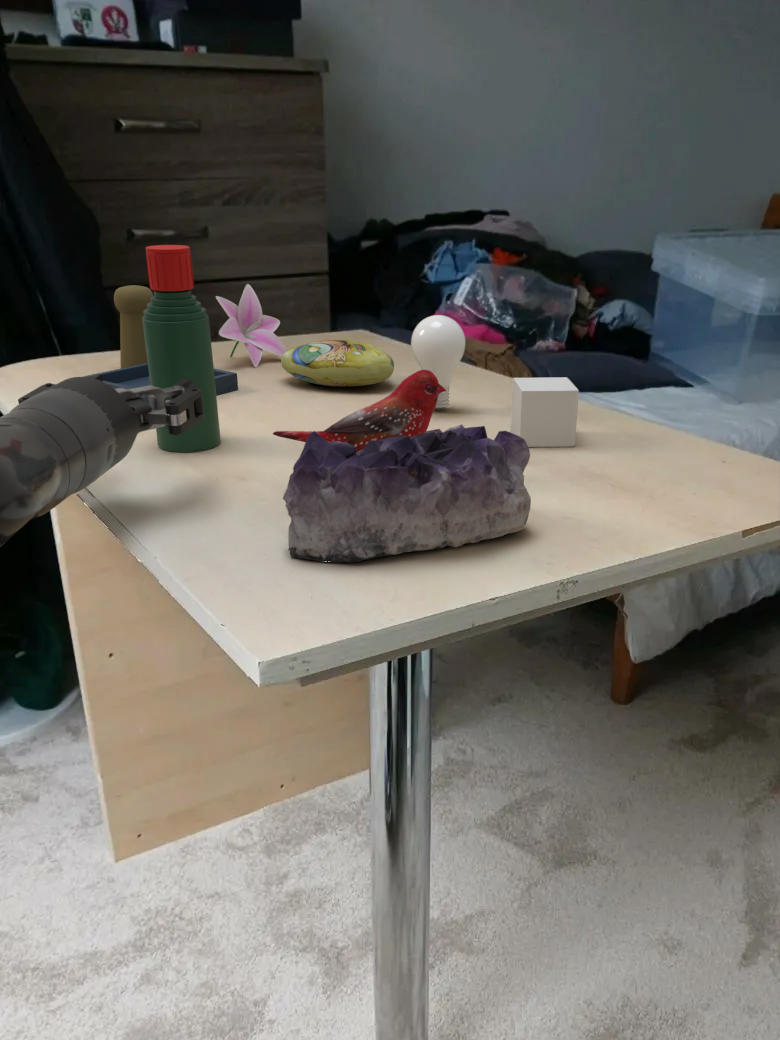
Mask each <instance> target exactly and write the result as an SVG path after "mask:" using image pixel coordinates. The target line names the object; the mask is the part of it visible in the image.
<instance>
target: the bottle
mask: <svg viewBox="0 0 780 1040" xmlns="http://www.w3.org/2000/svg"><path fill="white" fill-rule="evenodd" d="M143 313H144V316H143V317H142V322H143V330H144V338H145V346H146V353H147V361H148V369H149V377H150V385H152V386H156V387H159V388H161V389H164V388H169V387H172V386H173V385H175V384H176V383H177V382H179V381H180V380H182V379H183V378H187V379H192V381H193V383H194V384H196V385H197V389H201V390H202V397H203V407H204V416H205V418H203V419H202V420H200V421H199V422H198V423H196V424H195V425H193V426H192V427H191V428H189V429H188V430H186V431H185V432H183V433H182V434H179V435H171V434H169V433H168V426H167V425H165V426H163V427H159V428H155V431H156V439H157V446H158V447H159V448H160V449H161V450H164V451H167V452H174V453H193V452H201V451H202V452H203V451H208V450H209V449H213V448H216V447H218V446H219V445H220V444H221V441H222V440H221V439H222V438H221V430H220V419H219V410H218V409H219V408H218V399H217V395H216V387H215V377H214V369H215V368H214V359H213V346H212V338H211V326H210V317H209V314H208V313H207V309H206V308H205V307H203V306H202V302H201V301H198V300H197V295H195V294H192V289H190V290H183V291H156V290H153V296H152V297H151V302H150V303H148V304H147V309H145V310H144V311H143ZM166 400H171V396H170V397H166V398H165V399H164V406H165V401H166Z"/></svg>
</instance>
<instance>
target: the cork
mask: <svg viewBox="0 0 780 1040" xmlns="http://www.w3.org/2000/svg"><path fill="white" fill-rule="evenodd" d="M152 296H154V292H153V290H152V289H151V288H149V287H147V286H143V285H135V284H133V285H132V284H131V285H124V286H120V287H118V288H116V289H115V291H114V294H113V303H114V306H115V308H116V310H117V311H118V312H119V327H120V328H119V334H120V335H119V338H120V339H119V340H120V341H119V343H120V345H119V347H120V349H119V351H120V353H119V355H120V369H121V368H126V367H130V366H135V365H140V364H145V363H148V361H147V353H146V346H145V338H144V330H143V322H142V317H143V316H144V313H143V311H144V310H145V309H147V304H148V303H150V302H151V297H152Z"/></svg>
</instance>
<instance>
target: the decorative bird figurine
mask: <svg viewBox="0 0 780 1040" xmlns="http://www.w3.org/2000/svg"><path fill="white" fill-rule="evenodd" d="M444 391H446V389H445V388H444V387H443V386H441V385H440V384H439V383H438V379H437V377H436V376H435V375H434V374H433V373H432V372H431V371H429V370H422V369H420V370H418V371H416V372H413V373H412V374H410V375H408V376H407V377H405V378H404V379H403V380H402V381H401V382H400V383H399V384H398V386H396V388H395V389H394V390H393V391H392V392H391V393H390V394H389V395H387V396H385V397H384V398H382V399H380V400H379V401H377V402H375V403H372V404H370V405H368V406H365V407H363V408H362V407H361V408H360V409H357V410H356V411H354V412H352V413H350V414H348V415H346V416H345V417H343V418H341V419H339V420H338V421H336V422H335V423H333V424H331V425H330V426H329V427H327V428H326V429H324V430H320V431H319V430H317V431H316V430H315V431H316V432H317V433H318V434H319V435H320V436H321V437H323V438H324V439H325V440H326V441H328V442H334V441H340V442H347V443H349V444H351V445H354V446H355V447H356V452H358V451H361V450H363V448H364V447H365V446H366V444H367V443H368V442H369V441H370V440H374V441H376V442H377V441H378V440H383V439H386V438H389V437H396V436H399V435H402V436H409V437H412V436H415V435H419V434H424V433H425V432H426V431H428V428H429V425H430V423H431V419H432V416H433V414H434V411H435V410H434V409H435V407H436V404H437V399H438V395H439V394H440V393H441V392H444ZM313 431H314V430H313ZM313 431H312V430H310V431H304V430H301V431H300V430H299V431H298V430H276V431H273V432H272V435H273V436H276V437H279V438H284V439H288V440H293V441H298V442H302V443H305V442H306V439H307V438H308V436H309V435H310V434H311V433H312V432H313Z"/></svg>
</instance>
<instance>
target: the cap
mask: <svg viewBox="0 0 780 1040" xmlns="http://www.w3.org/2000/svg"><path fill="white" fill-rule="evenodd" d="M145 260H146V269H147V276H148V284H149V287H150V288H149V289H150V290H151V291H154V290H156V291H183V290H193V289H195V288H194V287H195V286H194V285H195V281H194V280H195V279H194V270H193V261H192V260H193V259H192V253H191V247H190V246H188V245H184V244H158V245H156V244H155V245H148V246H146V247H145Z"/></svg>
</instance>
